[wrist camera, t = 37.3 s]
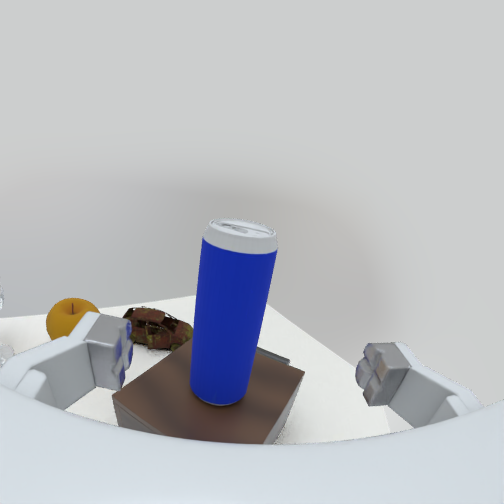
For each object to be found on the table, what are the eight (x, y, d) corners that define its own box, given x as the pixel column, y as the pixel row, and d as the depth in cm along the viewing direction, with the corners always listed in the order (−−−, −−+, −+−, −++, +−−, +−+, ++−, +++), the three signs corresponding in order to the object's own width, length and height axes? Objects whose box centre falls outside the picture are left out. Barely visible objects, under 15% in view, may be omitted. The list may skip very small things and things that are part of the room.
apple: (41, 355, 32) (29, 303, 30) (78, 329, 41) (72, 280, 38) (83, 383, 31) (71, 329, 28) (119, 350, 39) (115, 299, 36)
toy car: (114, 345, 40) (112, 319, 38) (129, 322, 46) (128, 297, 45) (190, 361, 41) (192, 335, 39) (196, 335, 47) (198, 311, 46)
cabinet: (198, 385, 36) (204, 328, 33) (284, 425, 32) (305, 371, 29) (124, 450, 24) (111, 394, 21) (226, 513, 19) (240, 476, 16)
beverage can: (253, 382, 26) (287, 229, 22) (233, 417, 22) (268, 244, 17) (205, 363, 28) (224, 213, 23) (179, 394, 23) (190, 224, 18)
